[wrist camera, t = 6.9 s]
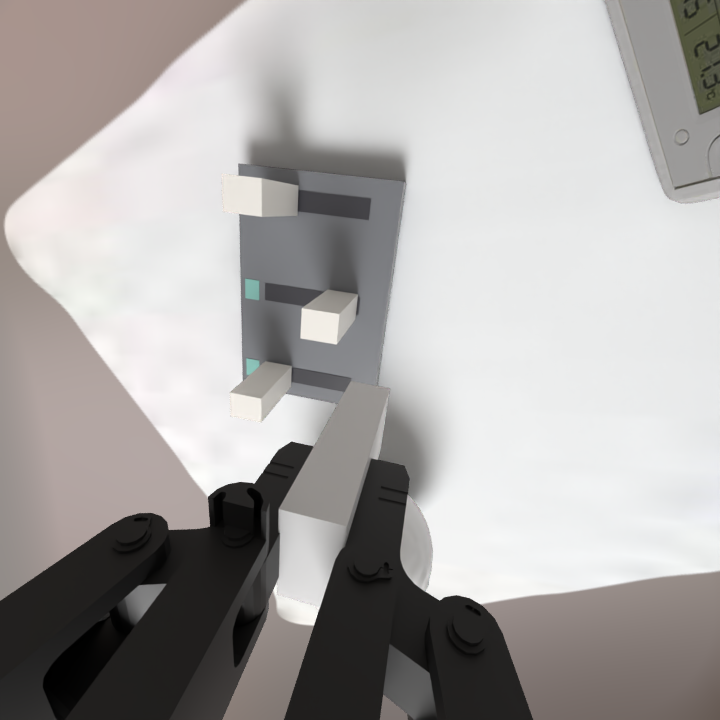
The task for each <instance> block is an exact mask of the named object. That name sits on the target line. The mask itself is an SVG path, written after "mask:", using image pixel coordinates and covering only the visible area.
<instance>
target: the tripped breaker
mask: <svg viewBox="0 0 720 720" xmlns="http://www.w3.org/2000/svg"><path fill="white" fill-rule="evenodd" d="M357 300H358V294H354V293H347V292H341V291H334V290H326V291H325V292H324V293H322V294H321V295H319V296H318V297H317V298H315V299H314V300H312V301H311V302H310V303H308V304H307V305H306V306H304V307H303V308H302V315H301V336H300V338H301V339H307V340H313V341H318V342H324V343H330V344H336V345H337V343H338V342H339V341H340V339H341V338H342V337H343V335H344V334H345V333H346V331H347V330H348V329H349V327H350V326H351V325H352V323H353V322H354V321H355V318H356V309H357Z"/></svg>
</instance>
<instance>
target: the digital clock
mask: <svg viewBox="0 0 720 720" xmlns="http://www.w3.org/2000/svg"><path fill="white" fill-rule="evenodd" d="M605 2H606V6H607V9H608V12H609V16H610V19H611V22H612V26H613V29H614V32H615V36H616V39H617V42H618V46H619V49H620V52H621V56H622V59H623V62H624V65H625V69H626V72H627V75H628V79H629V82H630V85H631V89H632V92H633V95H634V99H635V102H636V105H637V109H638V112H639V115H640V118H641V122H642V125H643V128H644V132H645V135H646V138H647V142H648V145H649V148H650V152H651V155H652V158H653V161H654V165H655V168H656V171H657V174H658V177H659V180H660V183H661V186H662V189H663V191H664V193H665V195H666V196H667V197H668V198H669V199H671V200H673V201H676V202H679V203H683V204H689V203H696V202H702V201H707V200H711V199H716V198H720V0H605Z"/></svg>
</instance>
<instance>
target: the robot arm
mask: <svg viewBox="0 0 720 720" xmlns="http://www.w3.org/2000/svg"><path fill="white" fill-rule="evenodd" d="M389 392H390V388H385V387H380V386H375V385H369V384H364V383H359V382H354V381H351V382H350V383H349V385H348V387H347V389H346V391H345V392H344V394H343V396H342V398H341V399H340V401H339V403H338V405H337V407H336V408H335V410H334V412H333V414H332V415H331V417H330V419H329V421H328V423H327V424H326V426H325V428H324V430H323V431H322V433H321V435H320V437H319V438H318V440H317V442H316V444H315V446H314V447H313V446H309V445H304V444H300V443H295V442H290V443H289V444H287V445H286V446H284V447H282V448H281V449H279V450H278V451H277V453H276V454H275V456H274V457H273V458H272V460H271V461H270V464H268V465H267V467H266V468H265V470H264V472H263V473H262V474H261V475H260V477H259V478H258V480H257V481H256V482H255V484H253V483H246V482H238V483H232V484H228V485H225V486H223V487H221V488H219V489H217V490H216V491H214V492H213V493H212V494H211V495H210V496H209V497H208V502H209V516H210V527H208V528H202V529H191V530H190V529H188V530H168V524H167V522H166V521H165V520H164V519H163V517H161V516H159V515H156V514H153V513H139V514H136V515H132V516H128V517H125V518H123V519H121V520H119V521H118V522H116V523H114V524H112V525H110V526H109V527H108V528H106V529H105V530H103V531H102V532H100V533H99V534H97V535H96V536H94V537H93V538H91V539H90V540H89V541H87V542H86V543H84V544H83V545H81V546H80V547H78V548H77V549H76V550H74V551H73V552H71V553H70V554H68V555H67V556H65V557H64V558H62V559H61V560H59V561H58V562H56V563H55V564H54V565H52V566H51V567H49V568H48V569H46V570H45V571H43V572H42V573H40V574H39V575H38V576H36V577H35V578H33V579H32V580H30V581H29V582H27V583H26V584H24V585H23V586H21V587H20V588H18V589H17V590H16V591H14V592H13V593H11V594H10V595H8V596H7V597H6V598H4V599H3V600H1V601H0V720H222V719H223V717H224V714H225V712H226V710H227V707H228V705H229V703H230V701H231V698H232V696H233V694H234V691H235V689H236V687H237V685H238V682H239V680H240V678H241V675H242V673H243V671H244V669H245V666H246V664H247V662H248V659H249V657H250V654H251V653H252V650H253V648H254V646H255V643H256V641H257V639H258V637H259V634H260V632H261V630H262V628H263V625H264V623H265V621H266V617H267V613H268V609H269V608H268V607H269V598H270V595H271V593H272V591H273V589H274V587H275V585H276V582H277V595H280V596H283V597H287V598H290V599H293V600H297V601H300V602H304V603H307V604H310V605H314V606H317V607H320V609H319V612H318V615H317V618H316V622H315V625H314V628H313V631H312V634H311V637H310V641H309V643H308V647H307V650H306V653H305V656H304V659H303V662H302V665H301V669H300V672H299V675H298V678H297V681H296V684H295V687H294V690H293V693H292V697H291V700H290V703H289V706H288V709H287V712H286V716H285V719H284V720H380V713H381V706H382V697H383V694H384V695H385V696H386V697H387V698H388V699H390V700H391V701H392V702H394V703H395V704H396V705H397V706H398V707H400V708H401V709H402V710H403V711H404V712H406V713H407V715H408V720H533V718H532V715H531V712H530V710H529V707H528V704H527V701H526V698H525V696H524V693H523V690H522V687H521V684H520V681H519V679H518V676H517V673H516V670H515V667H514V664H513V662H512V659H511V656H510V653H509V650H508V648H507V645H506V642H505V639H504V636H503V633H502V632H501V630H500V628H499V626H498V624H497V622H496V620H495V618H494V617H493V616H492V615H491V614H490V613H489V612H488V611H487V610H486V609H485V608H484V607H483V606H482V605H480V604H478V603H477V602H475V601H473V600H472V599H470V598H466V597H461V596H457V595H456V596H450V597H444V598H443V599H442V600H440V601H439V600H438V599H436V598H434V597H433V596H431V595H430V594H428V593H426V592H425V591H423V590H422V589H421V588H419V587H418V586H417V585H415V584H414V583H413V581H412V580H411V579H410V578H409V577H408V576H407V574H406V572H405V570H404V568H403V566H402V563H401V559H400V549H401V541H402V534H403V526H404V518H405V511H406V503H407V495H408V488H409V480H410V478H409V476H408V474H407V471H406V469H405V466H403V465H399V464H394V463H390V462H385V461H381V460H378V457H379V454H380V450H381V444H382V438H383V431H384V425H385V418H386V412H387V405H388V399H389Z"/></svg>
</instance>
